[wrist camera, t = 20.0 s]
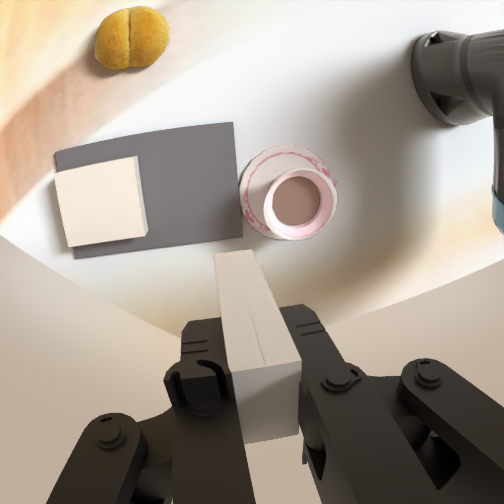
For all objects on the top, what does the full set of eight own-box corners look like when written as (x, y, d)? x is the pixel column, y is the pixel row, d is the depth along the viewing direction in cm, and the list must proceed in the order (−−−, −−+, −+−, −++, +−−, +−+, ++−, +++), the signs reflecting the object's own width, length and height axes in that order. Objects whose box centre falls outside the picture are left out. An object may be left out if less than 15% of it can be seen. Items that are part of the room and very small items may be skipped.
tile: (137, 155, 34) (62, 170, 33) (133, 157, 31) (53, 173, 30) (148, 229, 37) (76, 240, 36) (145, 236, 35) (68, 247, 33)
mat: (57, 151, 32) (55, 152, 32) (232, 122, 35) (233, 121, 34) (77, 257, 37) (75, 258, 37) (241, 235, 40) (242, 237, 39)
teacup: (265, 255, 42) (276, 275, 36) (220, 174, 37) (224, 181, 31) (344, 211, 41) (366, 224, 35) (307, 128, 36) (326, 128, 31)
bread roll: (170, 65, 31) (167, 57, 28) (98, 74, 30) (87, 69, 26) (172, 6, 28) (170, -7, 24) (101, 16, 27) (92, 6, 23)
